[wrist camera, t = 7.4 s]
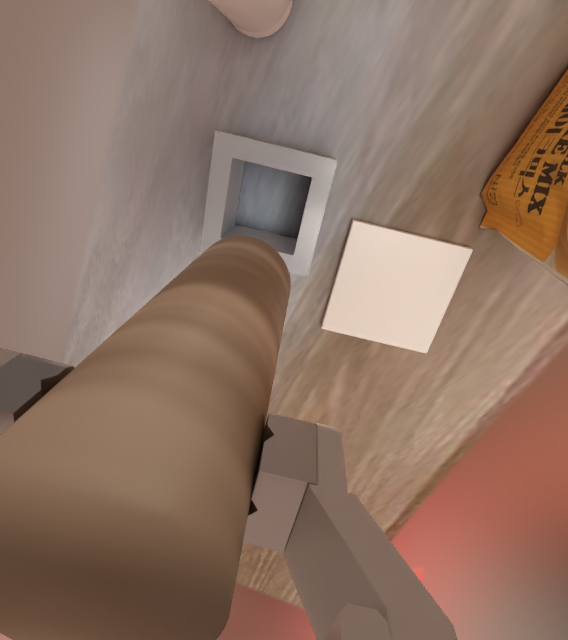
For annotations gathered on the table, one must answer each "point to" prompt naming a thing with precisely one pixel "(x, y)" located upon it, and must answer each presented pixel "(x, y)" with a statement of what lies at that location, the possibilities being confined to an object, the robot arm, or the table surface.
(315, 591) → the robot arm
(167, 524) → the birch pin
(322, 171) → the grey square frame
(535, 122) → the pancake mix bag
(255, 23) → the drinking glass
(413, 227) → the table surface
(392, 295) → the square mat
